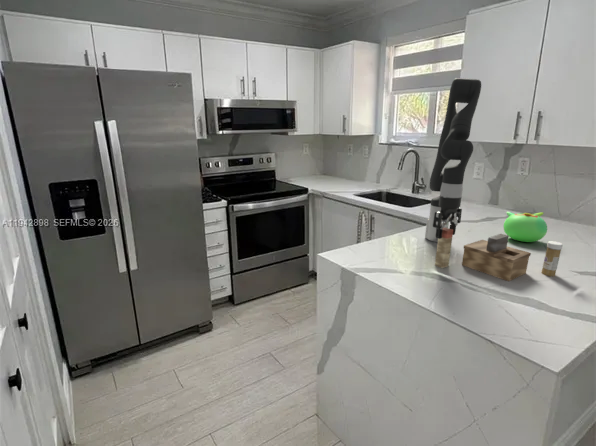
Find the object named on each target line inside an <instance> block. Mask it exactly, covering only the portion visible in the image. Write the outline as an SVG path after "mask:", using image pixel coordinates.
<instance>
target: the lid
mask: <svg viewBox="0 0 596 446" xmlns="http://www.w3.org/2000/svg"><path fill="white" fill-rule="evenodd" d="M509 238H510V237H509V236H508V235H507V234H504V233H498V234H496V235H493V236H490V237H489V236H488V238H487V239H488V241H487V239H486V240H485V239H480V240H476V241H473V242H470V243H467V244H465V245H463V250H464V249H467V250H471V251H474V252H477V253H480V254H484V255H487V256H490V257H494V258H497V259H500V260H503V261H507V262H510V263H515V262H517V261H519V260H522V259H524V258H527V257H529V258H530V257H531V254H532V253H531V252H529V251H525V250H522V249H517V248H515V247H512V246H508V242H509ZM505 253H508V254H512V255H515V256H511V255H508V254H505Z"/></svg>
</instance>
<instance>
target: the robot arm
mask: <svg viewBox="0 0 596 446" xmlns="http://www.w3.org/2000/svg"><path fill="white" fill-rule="evenodd" d="M481 90H482V81H481V80H480V79H477V78H466V77H465V78H464V77H463V78H462V77H461V78H460V77H455V78H454V79H453V80H452V82H451V86H450V89H449V95H448V101H447V105H446V107H447V108H446V111H445V118H444V122H443V125H442V129H441V133H440V138H439V143H438V148H437V153H436V158H435V162H434V164H433V167H432V171H431V175H430V178H429V190H431V191H432V192H440V193H439V196H436V197H433V198H432V199H431V200H430V206H429V207H430V208H429V215H428V219H427V220H426V224H425V225H426V227H425V232H424V238H425V239H426V240H428V241H430V242H435V243H438V238H439V239H441V238H442V233H443V228H449V229H453V236H454V235H456V229H457V226H458V224H461V220H462V212H463V209H462V208H461V205H462V204H461V203H462V197H463V189H464V188H463V186H464V184H463V183H464V179H465V178H464V177H465V172H466V168H467V165H468V163H469V160H470V159H471V157H472V154H473V152H474V145H473V143H472V142H471V141H470V140H468V139H469V138H470V134H471V128H472V124H473V123H472V122H473V117H474V115H475V113H476V112H475V111H476V109H477V106H478V102H479V100H480V95H481ZM456 103H460V104H466V105H465V106H464V107H463V108H462V109H461V110H460V111H458V112H457V107H456ZM451 160H453V161H459V163H458V164H456V165H450V166H449V165H448V166H446V165H447V164H448V163H449V162H450V161H451ZM445 166H446V167H445Z"/></svg>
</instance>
